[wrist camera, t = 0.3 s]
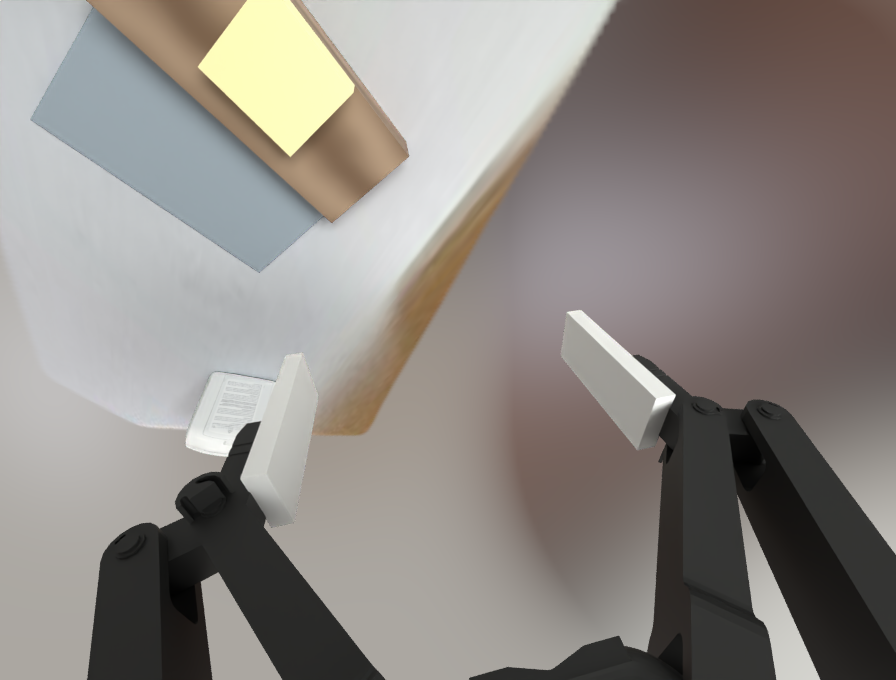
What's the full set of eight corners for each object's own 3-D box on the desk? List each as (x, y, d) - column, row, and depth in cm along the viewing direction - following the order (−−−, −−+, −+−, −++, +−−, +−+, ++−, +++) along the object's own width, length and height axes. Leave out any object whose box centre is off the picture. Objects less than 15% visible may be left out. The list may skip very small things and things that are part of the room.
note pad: (272, -23, 22) (264, -23, 20) (354, 85, 26) (353, 92, 25) (209, 60, 24) (197, 66, 22) (295, 146, 29) (290, 157, 27)
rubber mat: (107, -14, 24) (104, -14, 23) (334, 204, 37) (334, 206, 37) (32, 118, 28) (30, 119, 28) (259, 271, 41) (259, 272, 41)
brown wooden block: (186, -155, 20) (157, -174, 18) (406, 141, 33) (408, 156, 31) (107, -14, 24) (72, -12, 21) (334, 204, 37) (331, 223, 34)
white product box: (208, 384, 54) (178, 458, 46) (209, 367, 52) (178, 443, 43) (278, 394, 59) (263, 464, 50) (283, 379, 56) (267, 450, 48)
